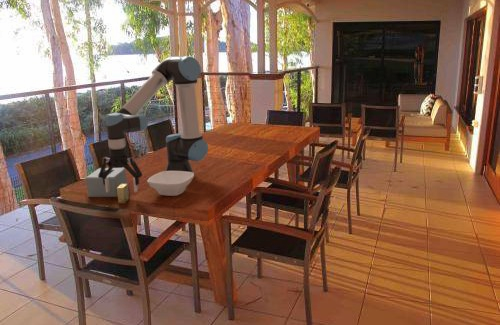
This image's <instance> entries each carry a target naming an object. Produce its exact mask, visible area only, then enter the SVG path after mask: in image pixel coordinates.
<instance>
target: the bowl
mask: <svg viewBox="0 0 500 325" xmlns="http://www.w3.org/2000/svg"><path fill="white" fill-rule="evenodd" d="M194 177H195V172H194V171H193V172H186V171H166V170H163V171H160V172H157V173H156V174H153V175H151V176H150V177H149V178H148V179H147V180H146V183H147V184H148V185H149V187H151V188H153V189H154V190H156V192H157V193H158V194H159V195H160V196H167V197H168V196H169V197H170V196H173V197H175V196H179V195H181V194H183V193H184V192H185V190H186V189H187V187H188V186H189V185H190V183H191V182H192V181H193V178H194Z"/></svg>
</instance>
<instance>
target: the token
mask: <svg viewBox="0 0 500 325" xmlns="http://www.w3.org/2000/svg"><path fill="white" fill-rule="evenodd" d="M128 186H129V185H128V183H127V184H121V185H120V186H118V187H117V194H118V195H117V202H118V204H125V203H126V202H127V201H129V200H130V194H129V188H128Z"/></svg>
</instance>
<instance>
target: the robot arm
mask: <svg viewBox="0 0 500 325" xmlns="http://www.w3.org/2000/svg"><path fill="white" fill-rule="evenodd" d="M201 70H202V68H201V65H200V62H199V61H198V60H197V59H196V58H194V57H193V56H188V55H181V56H180V55H179V56H175V55H172V56H169V57H167V58H165V59H164V60H162V62H160V63H159V64H157V65H156V66H155V68H154V69H153V70H152V72H151V75H150V77H148V78H147V79H146V81H145V82H144V83H143V84H142V85H141V86H140V87H139V88H138V89H137V91H136V92H135V93H134V94H133V95H131V97H130V98H129V99H128V101H127V102H126V103H125V104H123V106H122V107H121V108H120V109H119V110H118V111H117V112H113V113H107V114H106V117H105V125H106V126H105V127H106V132H107V134H106V135H107V143H108V148H109V149H108V151H109V156H110V158H107V156H104V157H105V158H104V157H103V158H104V159H103V161H102V165H101V167H100V168H101V170H100V173H99V175H98V177H101V178H103V184H104V185H105V187H106V192H109V191H110V187H109V178H108V177H107V176H108V174H109V173H110V172H111V170H112V169H113V168H114V167H115V168H117V167H122V168H125V169H126V171H127V172H128V173H129V174H130V175H131V176H132V177H133V180H132V181H133V182H132V183H133V190H134V191H133V192H134V193H137V192H138V190H139V189H138V188H139V187H138V186H139V184H140V178H141V177H142V176H143V173H142V170H140V168H139V166H138V164H137V163H136V160H135V157H134V156H132V157H128V156H127V155H128V154H127V153H128V152H127V147H126V145H127V143H126V134H129V133H134V132H141V131H145V130H146V129H147V128H148V125H149V122H148V118H147V116H146V115H145V114H139V112H141V110H143V108H144V107H145V106H146V105H147V103H149V102H150V100H152V98H153V97H154V96H155V95H156V94H157V93H158V92H159V91H160V89H161V88H162V87H163V86H167V85H168V83H170V82H171V81H174V85H175V87H177V89H178V90H177V91H178V99H179V107H180V108H179V109H180V117H181V118H180V119H181V128H182V133H180V132H179V133H174V134H169V135H167V136H166V137H165V147H166V155H167V163H166V164H167V165H166V169H165V171H186V172H193V173H194V169H193V167H192V164H191V162H190V161H192V162H200V161H202V160H203V159H205V157H206V156H207V154H208V152H209V145H208V143H207V141H206V140H204V135H203V133H202V132H201V131H200V125H199V115H198V106H197V96H196V95H197V94H196V85H197V84H198V79H199V78H200V76H201V72H202V71H201ZM109 161H110V162H111V163H112V164H111V166H110V167H109V169H108V170H107V171H106V173H105V174H104V171H105V168H106V166H107V163H108V162H109ZM128 162H129V163H130V164H129V163H128ZM130 165H131V166H130ZM103 174H104V175H103ZM106 177H107V178H106Z"/></svg>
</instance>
